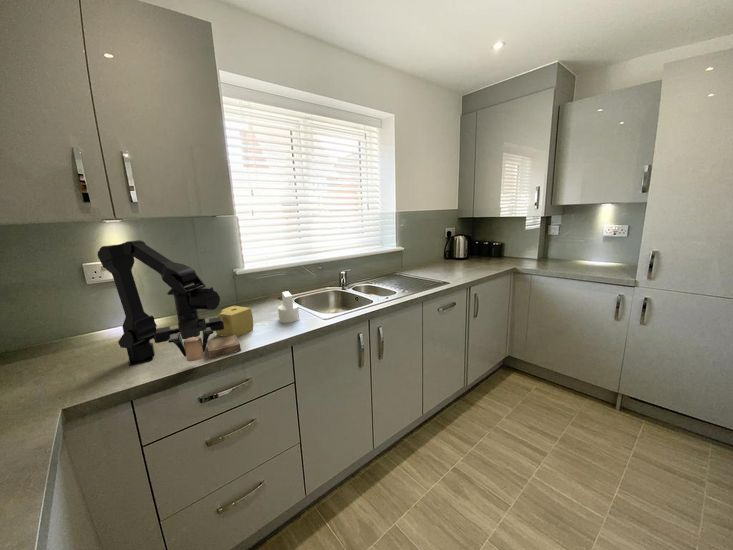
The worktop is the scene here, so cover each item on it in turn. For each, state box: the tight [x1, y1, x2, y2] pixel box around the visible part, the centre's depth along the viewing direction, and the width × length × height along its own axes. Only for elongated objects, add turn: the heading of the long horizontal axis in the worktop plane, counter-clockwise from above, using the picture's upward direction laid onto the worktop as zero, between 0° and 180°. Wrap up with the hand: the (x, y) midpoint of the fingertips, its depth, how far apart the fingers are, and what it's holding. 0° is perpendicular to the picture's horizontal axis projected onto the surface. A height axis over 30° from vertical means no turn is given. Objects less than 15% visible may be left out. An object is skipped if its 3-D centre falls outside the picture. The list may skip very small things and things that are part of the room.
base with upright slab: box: [277, 290, 300, 324], centre depth 134 cm, size 9×9×12 cm
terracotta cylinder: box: [183, 336, 205, 362], centre depth 95 cm, size 5×5×6 cm
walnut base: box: [206, 335, 242, 359], centre depth 107 cm, size 10×10×3 cm
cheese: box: [215, 305, 254, 338], centre depth 121 cm, size 10×11×10 cm
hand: (194, 353), depth 96 cm, fingers closed on terracotta cylinder, 5 cm apart
